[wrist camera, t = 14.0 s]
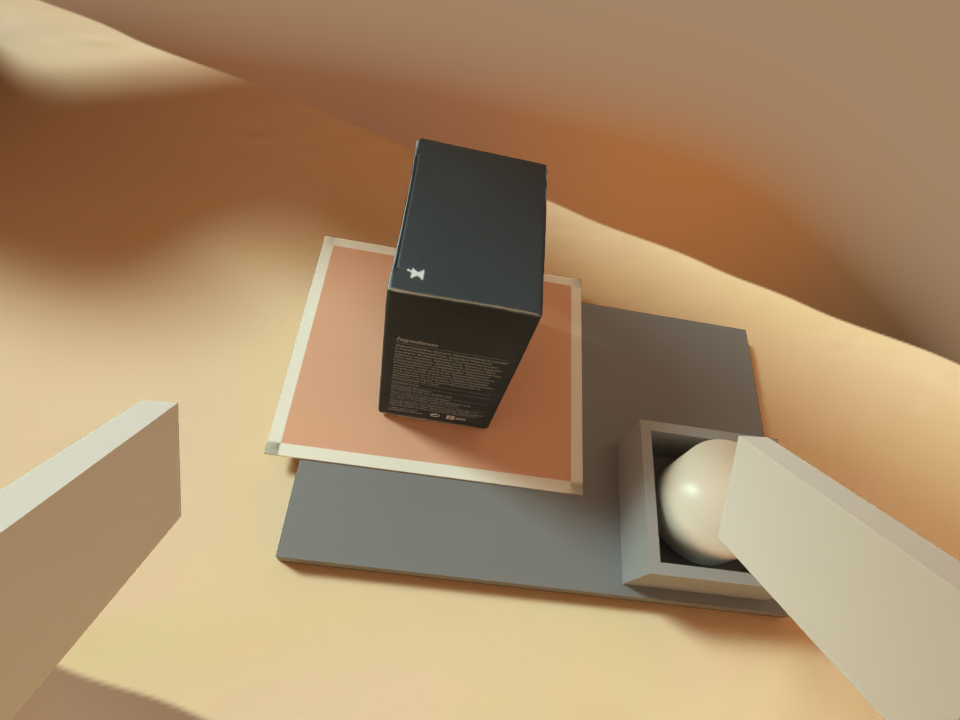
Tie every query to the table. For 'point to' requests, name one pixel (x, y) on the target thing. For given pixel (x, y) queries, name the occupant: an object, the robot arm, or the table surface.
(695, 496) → the button
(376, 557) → the grey board
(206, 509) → the table surface
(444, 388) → the box
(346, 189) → the table surface
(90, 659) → the table surface
